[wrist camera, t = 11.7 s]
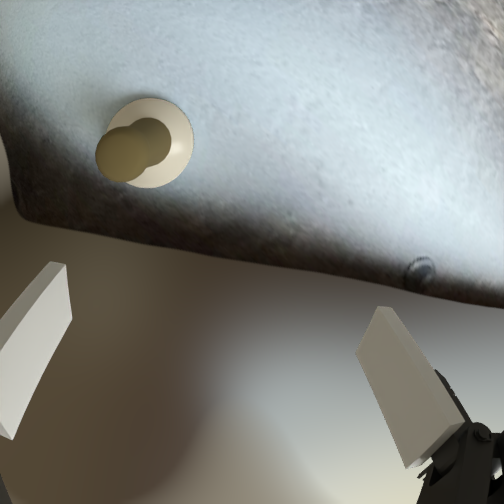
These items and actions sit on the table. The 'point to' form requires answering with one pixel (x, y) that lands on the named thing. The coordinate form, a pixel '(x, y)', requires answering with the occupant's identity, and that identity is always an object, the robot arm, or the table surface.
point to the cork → (132, 149)
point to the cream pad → (178, 130)
